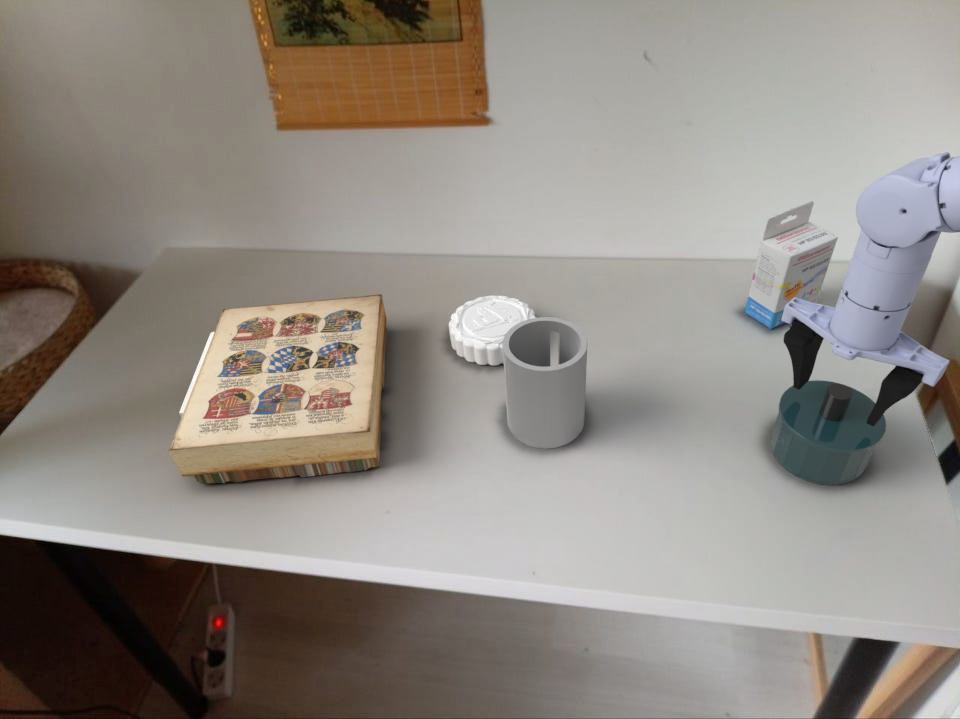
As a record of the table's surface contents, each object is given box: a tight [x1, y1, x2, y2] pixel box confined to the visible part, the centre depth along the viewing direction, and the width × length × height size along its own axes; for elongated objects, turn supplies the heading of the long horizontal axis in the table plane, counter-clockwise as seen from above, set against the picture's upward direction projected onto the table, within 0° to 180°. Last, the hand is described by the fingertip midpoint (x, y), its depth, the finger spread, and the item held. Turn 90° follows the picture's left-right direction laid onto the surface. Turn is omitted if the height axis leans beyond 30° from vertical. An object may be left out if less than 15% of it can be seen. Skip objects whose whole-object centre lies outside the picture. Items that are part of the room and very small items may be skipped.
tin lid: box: [778, 379, 887, 453], centre depth 70 cm, size 10×10×4 cm
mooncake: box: [448, 294, 537, 367], centre depth 93 cm, size 12×12×4 cm
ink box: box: [744, 200, 839, 330], centre depth 89 cm, size 8×5×15 cm, turn 119°
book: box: [168, 293, 388, 485], centre depth 86 cm, size 25×6×28 cm
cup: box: [503, 316, 588, 450], centre depth 78 cm, size 9×9×12 cm
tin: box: [770, 413, 877, 486], centre depth 73 cm, size 10×10×5 cm
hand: (836, 401), depth 70 cm, fingers open, 7 cm apart
